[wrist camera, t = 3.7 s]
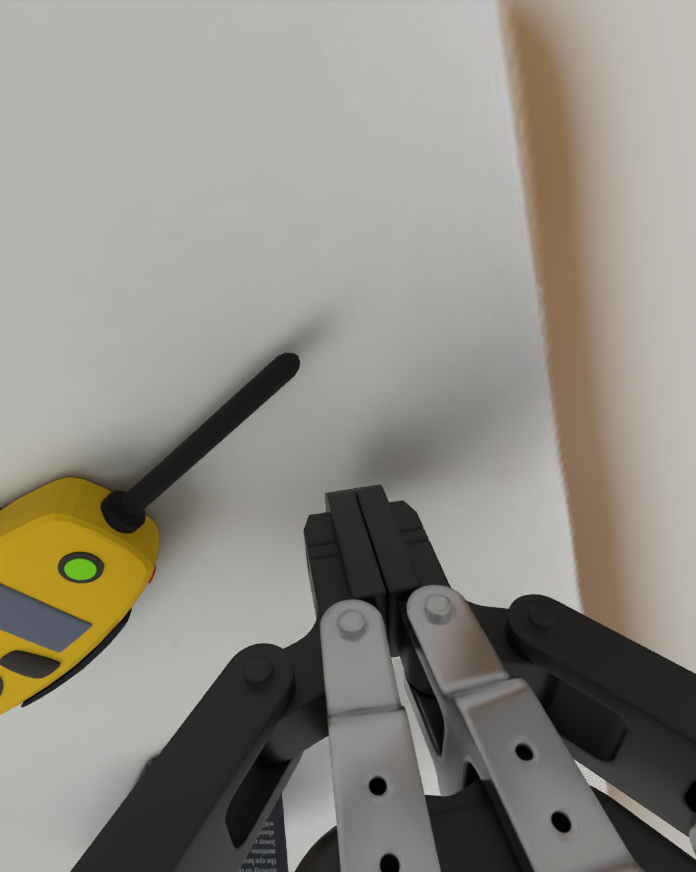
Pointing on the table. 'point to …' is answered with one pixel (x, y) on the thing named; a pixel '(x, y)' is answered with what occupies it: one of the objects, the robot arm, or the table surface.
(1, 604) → the yellow walkie talkie
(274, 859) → the box
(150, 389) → the table surface
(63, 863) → the table surface
